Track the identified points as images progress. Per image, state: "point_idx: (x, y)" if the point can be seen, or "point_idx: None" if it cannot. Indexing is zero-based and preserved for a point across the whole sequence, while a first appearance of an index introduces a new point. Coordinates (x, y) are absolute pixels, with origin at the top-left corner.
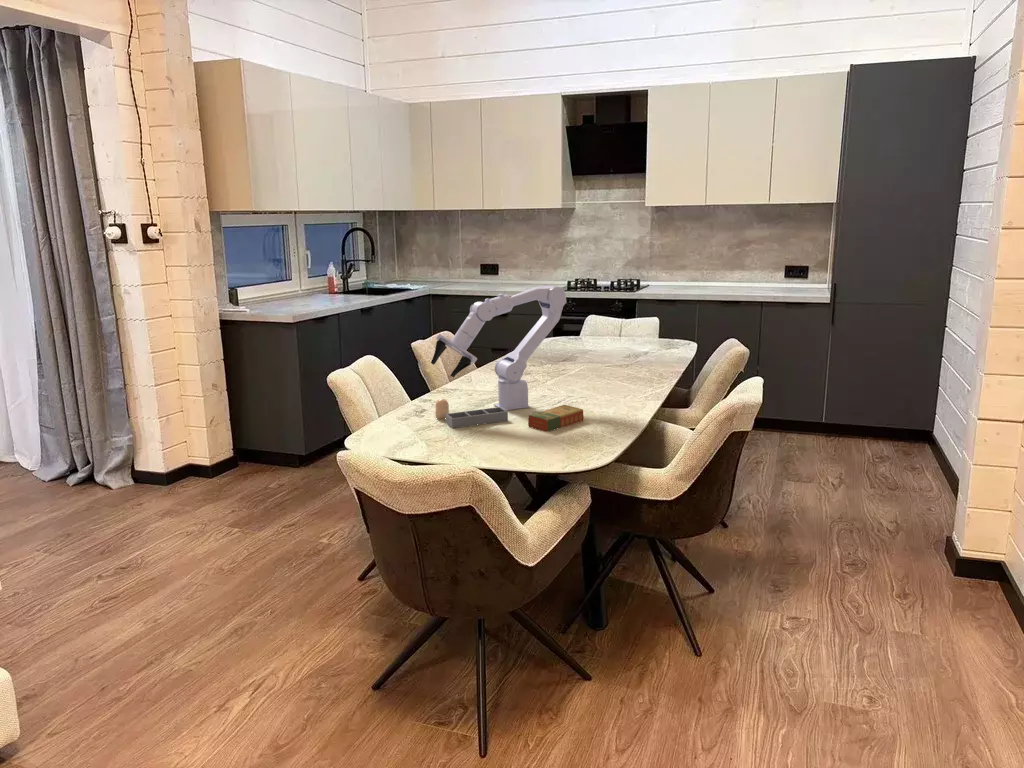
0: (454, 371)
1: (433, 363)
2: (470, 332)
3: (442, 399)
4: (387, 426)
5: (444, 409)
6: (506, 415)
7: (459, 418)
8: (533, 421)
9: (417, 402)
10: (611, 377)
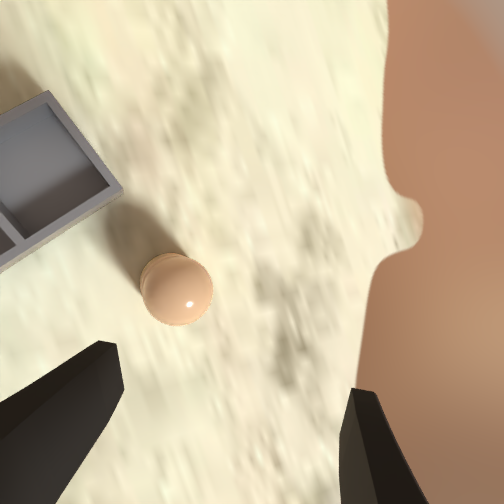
0: (61, 372)
1: (346, 415)
2: None
3: (177, 293)
4: (336, 131)
5: (154, 263)
6: None
7: (8, 112)
8: None
9: None
10: None
